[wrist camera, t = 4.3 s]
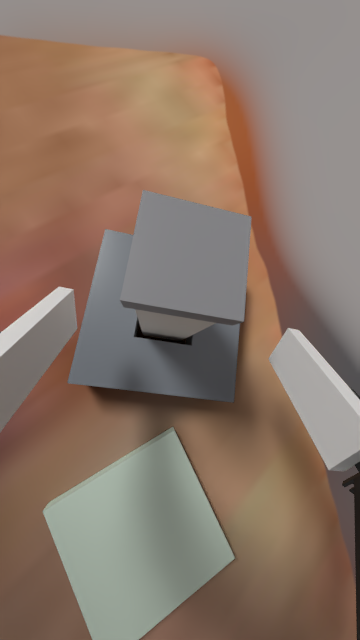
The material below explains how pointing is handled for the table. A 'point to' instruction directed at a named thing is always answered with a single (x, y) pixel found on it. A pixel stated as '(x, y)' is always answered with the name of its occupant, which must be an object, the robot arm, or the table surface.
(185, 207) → the plug
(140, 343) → the grey square socket block
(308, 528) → the table surface
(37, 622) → the table surface
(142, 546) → the pad
